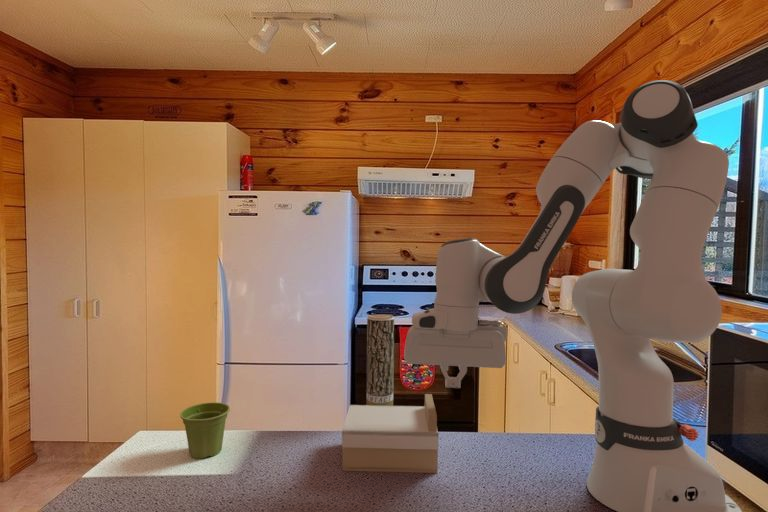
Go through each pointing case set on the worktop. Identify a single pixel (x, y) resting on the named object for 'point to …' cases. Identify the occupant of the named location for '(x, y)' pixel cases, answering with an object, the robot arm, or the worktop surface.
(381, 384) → the bark textured cylinder
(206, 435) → the plant pot
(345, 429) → the lid
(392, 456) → the tan open box
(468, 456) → the worktop surface
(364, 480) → the worktop surface
